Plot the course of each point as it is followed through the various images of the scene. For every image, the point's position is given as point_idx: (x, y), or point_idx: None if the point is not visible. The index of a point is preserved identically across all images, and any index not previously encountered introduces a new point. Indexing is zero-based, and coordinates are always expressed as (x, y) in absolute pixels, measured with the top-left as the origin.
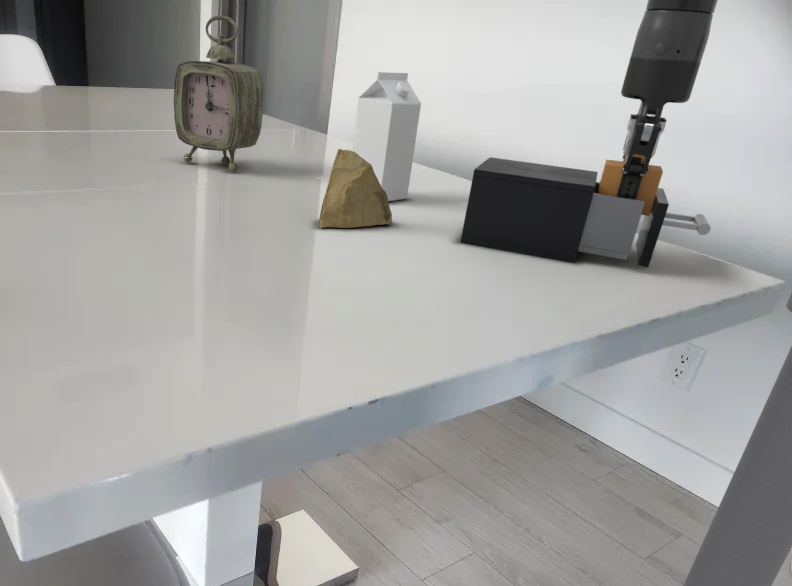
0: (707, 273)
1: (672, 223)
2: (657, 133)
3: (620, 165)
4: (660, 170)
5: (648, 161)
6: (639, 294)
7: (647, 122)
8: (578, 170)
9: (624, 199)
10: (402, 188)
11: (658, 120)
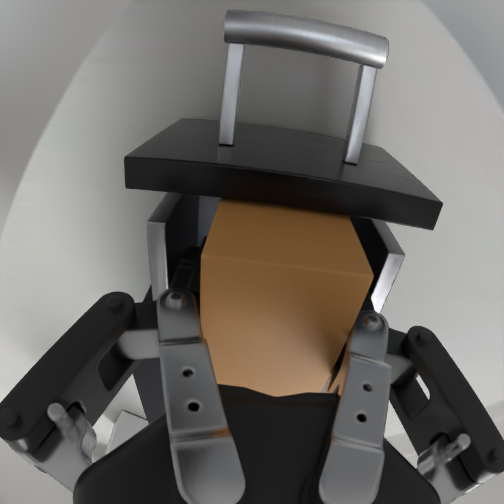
0: (292, 2)
1: (364, 133)
2: (501, 441)
3: (315, 379)
4: (352, 281)
5: (452, 363)
6: (480, 187)
7: (470, 490)
8: (153, 377)
9: (385, 297)
10: (130, 425)
11: (439, 500)
